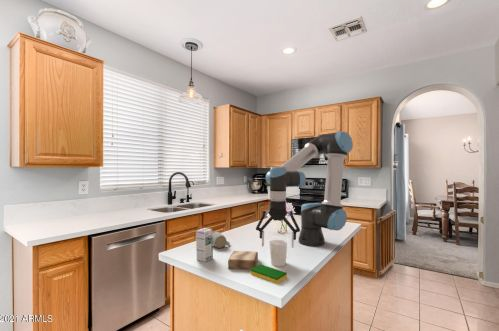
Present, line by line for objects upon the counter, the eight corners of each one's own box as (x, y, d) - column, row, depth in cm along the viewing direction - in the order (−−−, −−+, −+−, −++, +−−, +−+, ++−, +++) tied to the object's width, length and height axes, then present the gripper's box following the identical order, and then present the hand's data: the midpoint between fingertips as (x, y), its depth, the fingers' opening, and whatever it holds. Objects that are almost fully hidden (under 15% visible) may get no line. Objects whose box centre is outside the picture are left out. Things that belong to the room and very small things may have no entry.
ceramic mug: (215, 249, 134) (215, 235, 135) (209, 245, 141) (209, 232, 142) (232, 246, 140) (232, 233, 140) (225, 243, 147) (226, 230, 147)
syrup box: (205, 262, 117) (204, 231, 117) (196, 259, 120) (195, 229, 120) (213, 258, 122) (212, 228, 122) (204, 256, 125) (203, 227, 125)
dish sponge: (260, 269, 109) (260, 263, 109) (287, 278, 100) (287, 272, 100) (250, 274, 104) (249, 269, 104) (277, 284, 95) (277, 278, 95)
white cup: (268, 260, 118) (268, 239, 118) (284, 260, 118) (284, 239, 119) (271, 267, 110) (271, 245, 110) (288, 266, 111) (288, 244, 111)
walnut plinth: (257, 259, 120) (257, 251, 120) (255, 269, 108) (255, 260, 108) (233, 258, 121) (233, 250, 121) (228, 268, 109) (228, 259, 109)
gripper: (304, 199, 117) (304, 244, 116) (252, 198, 120) (251, 242, 119) (306, 201, 109) (305, 250, 109) (250, 200, 112) (249, 247, 112)
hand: (277, 246), depth 114 cm, fingers open, 13 cm apart
